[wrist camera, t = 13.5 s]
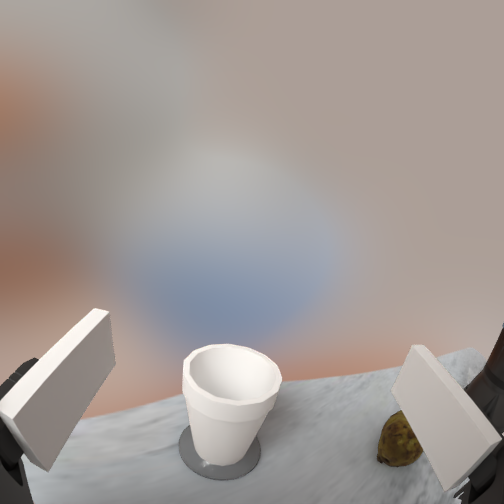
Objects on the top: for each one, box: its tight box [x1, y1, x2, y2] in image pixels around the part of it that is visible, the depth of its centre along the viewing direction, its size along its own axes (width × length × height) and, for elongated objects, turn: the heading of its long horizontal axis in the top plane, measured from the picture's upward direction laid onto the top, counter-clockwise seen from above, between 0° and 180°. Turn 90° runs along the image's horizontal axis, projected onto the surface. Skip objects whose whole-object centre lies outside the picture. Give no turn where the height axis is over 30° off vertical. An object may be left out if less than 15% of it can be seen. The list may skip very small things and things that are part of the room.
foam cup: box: [182, 344, 282, 466], centre depth 26 cm, size 10×9×13 cm
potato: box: [377, 410, 423, 467], centre depth 27 cm, size 8×13×8 cm, turn 119°
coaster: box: [179, 425, 260, 480], centre depth 28 cm, size 10×10×1 cm
